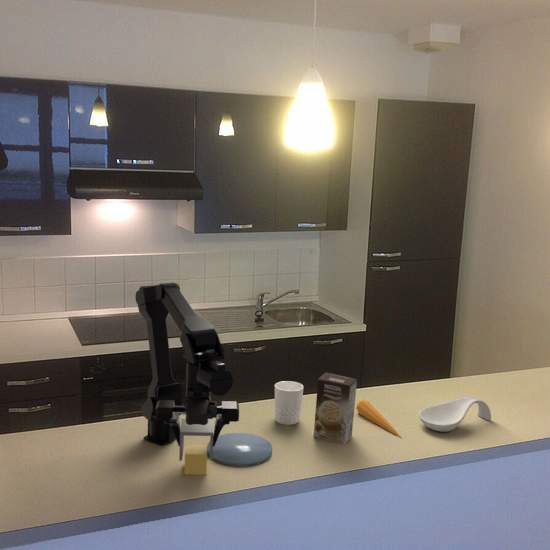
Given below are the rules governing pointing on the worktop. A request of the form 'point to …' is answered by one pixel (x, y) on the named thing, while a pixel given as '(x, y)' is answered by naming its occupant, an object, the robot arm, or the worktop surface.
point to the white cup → (288, 402)
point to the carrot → (374, 416)
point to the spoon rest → (451, 413)
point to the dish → (241, 449)
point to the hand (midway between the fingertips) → (196, 445)
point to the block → (195, 459)
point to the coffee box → (335, 407)
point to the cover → (196, 434)
